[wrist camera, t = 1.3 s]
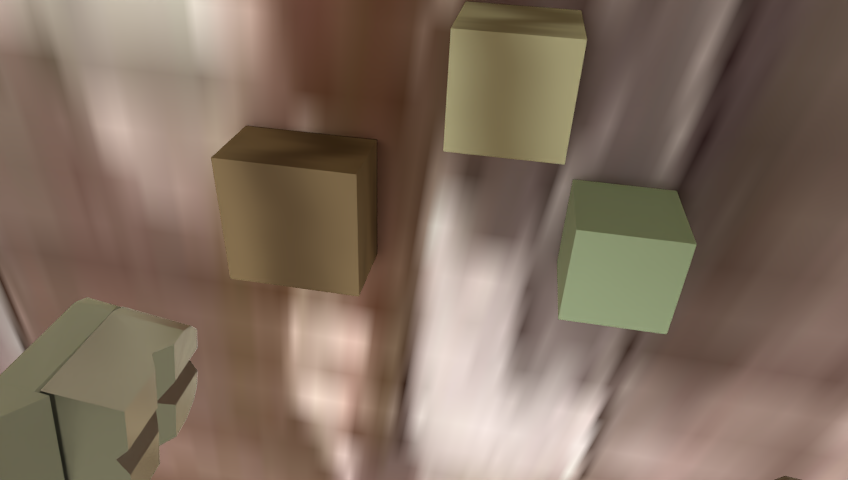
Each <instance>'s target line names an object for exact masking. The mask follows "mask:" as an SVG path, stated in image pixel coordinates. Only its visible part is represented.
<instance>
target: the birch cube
mask: <svg viewBox="0 0 848 480" xmlns="http://www.w3.org/2000/svg"><path fill="white" fill-rule="evenodd" d="M586 43H587V37H586V32H585V27H584V22H583V17H582V12H581V10H570V9H557V8H544V7H531V6H519V5H506V4H493V3H480V2H467V1H466V2H465V4H464V5H463V7H462V9H461V11H460V13H459V14H458V16H457V18H456V20H455V22H454V24H453V25H452V27H451V34H450V50H449V67H448V83H447V99H446V115H445V131H444V147H443V151H445V152H454V153H463V154H472V155H482V156H491V157H500V158H509V159H518V160H528V161H537V162H546V163H555V164H564V165H565V159H566V154H567V148H568V143H569V137H570V132H571V126H572V121H573V115H574V110H575V104H576V99H577V93H578V87H579V82H580V76H581V71H582V65H583V60H584V54H585V49H586Z"/></svg>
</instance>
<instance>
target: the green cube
mask: <svg viewBox="0 0 848 480" xmlns="http://www.w3.org/2000/svg"><path fill="white" fill-rule="evenodd" d="M696 245H697V244H696V241H695V239H694V236H693V233H692V231H691V228H690V225H689V223H688V220H687V217H686V215H685V212H684V209H683V207H682V204H681V201H680V199H679V196H678V193H677V191H673V190H664V189H655V188H646V187H637V186H628V185H619V184H610V183H601V182H592V181H583V180H574V179H573V181H572V186H571V192H570V197H569V202H568V207H567V213H566V218H565V223H564V228H563V234H562V239H561V244H560V249H559V255H558V260H557V282H558V319H560V320H567V321H574V322H582V323H589V324H596V325H603V326H610V327H618V328H625V329H632V330H639V331H646V332H653V333H661V334H667V332H668V329H669V326H670V323H671V320H672V317H673V314H674V311H675V308H676V305H677V302H678V299H679V296H680V293H681V290H682V287H683V284H684V281H685V278H686V275H687V272H688V269H689V266H690V263H691V260H692V257H693V254H694V251H695V248H696Z"/></svg>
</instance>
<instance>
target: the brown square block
mask: <svg viewBox="0 0 848 480" xmlns="http://www.w3.org/2000/svg"><path fill="white" fill-rule="evenodd" d="M211 161H212V167H213V173H214V179H215V186H216V192H217V198H218V204H219V211H220V217H221V223H222V229H223V236H224V242H225V248H226V254H227V261H228V267H229V273H230V278H231V279H238V280H245V281H252V282H259V283H266V284H274V285H281V286H288V287H295V288H302V289H309V290H317V291H324V292H331V293H338V294H345V295H352V296H359V295H360V293H361V290H362V288H363V286H364V283H365V281H366V279H367V276H368V274H369V272H370V269H371V267H372V265H373V262H374V260H375V257H376V255H377V140H372V139H363V138H354V137H344V136H335V135H326V134H317V133H307V132H298V131H289V130H279V129H270V128H261V127H252V126H245V127H244V128H243V129H242V130H241V131H240V132H239V133H238V134H237V135H235V136H234V137H233V138H232V139H231V140H230V141H229V142H228V143H227V144H226V145H224V146H223V147H222V148H221V149H220V150H219V151H218V152H217V153H216V154H215V155H213V156H212V157H211Z"/></svg>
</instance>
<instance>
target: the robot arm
mask: <svg viewBox="0 0 848 480" xmlns="http://www.w3.org/2000/svg"><path fill="white" fill-rule="evenodd" d="M197 348H198V346H197V329H195V328H194V327H192V326H190V325H186V324H183V323H179V322H176V321H172V320H169V319H165V318H161V317H158V316H154V315H151V314H147V313H144V312H140V311H136V310H133V309H129V308H126V307H119V306H116V305H112V304H109V303H105V302H102V301H98V300H95V299H91V298H84V299H82V300H79V301H77V302H75V303H74V304H73V305H72V306H71V307H69V308H68V309H67V310H66V311H65V312H64V313H63V314H62V315H61V316H60V317H59V318H58V319H57V320H56V321H55V322H54V323H53V324H52V325H51V326H50V327H49V328H48V329H47V330H46V331H45V332H44V333H43V334H42V335H41V336H40V337H39V338H38V339H37V340H36V341H35V342H34V343H32V344H31V345H30V346H29V347H28V348H27V349H26V350H25V351H24V352H23V353H22V354H21V355H20V356H19V357H18V358H17V359H16V360H15V361H14V362H13V363H12V364H11V365H10V366H9V367H8V368H7V369H6V370H5V371H4V372H3V373H2V374H1V375H0V480H150V479H151V477H152V476H153V474H154V472H155V471H156V469H157V467H158V466H159V464H160V455H159V446H160V445H162V444H163V443H165V442H167V441H169V440H171V439H173V438H174V437H176V436H177V434H178V433H179V431H180V429H181V427H182V426H183V424H184V422H185V421H186V419H187V416H188V414H189V411H190V408H191V406H192V403H193V401H194V397H195V392H196V387H197V369H196V368H195V367H194V365H193V364H192V363H191V361H190V358H191V357H192V355H193V354H194V352H195V351H196V349H197ZM775 480H801V479H797V478H792V477H788V476H783V477H780V478H778V479H775Z"/></svg>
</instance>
